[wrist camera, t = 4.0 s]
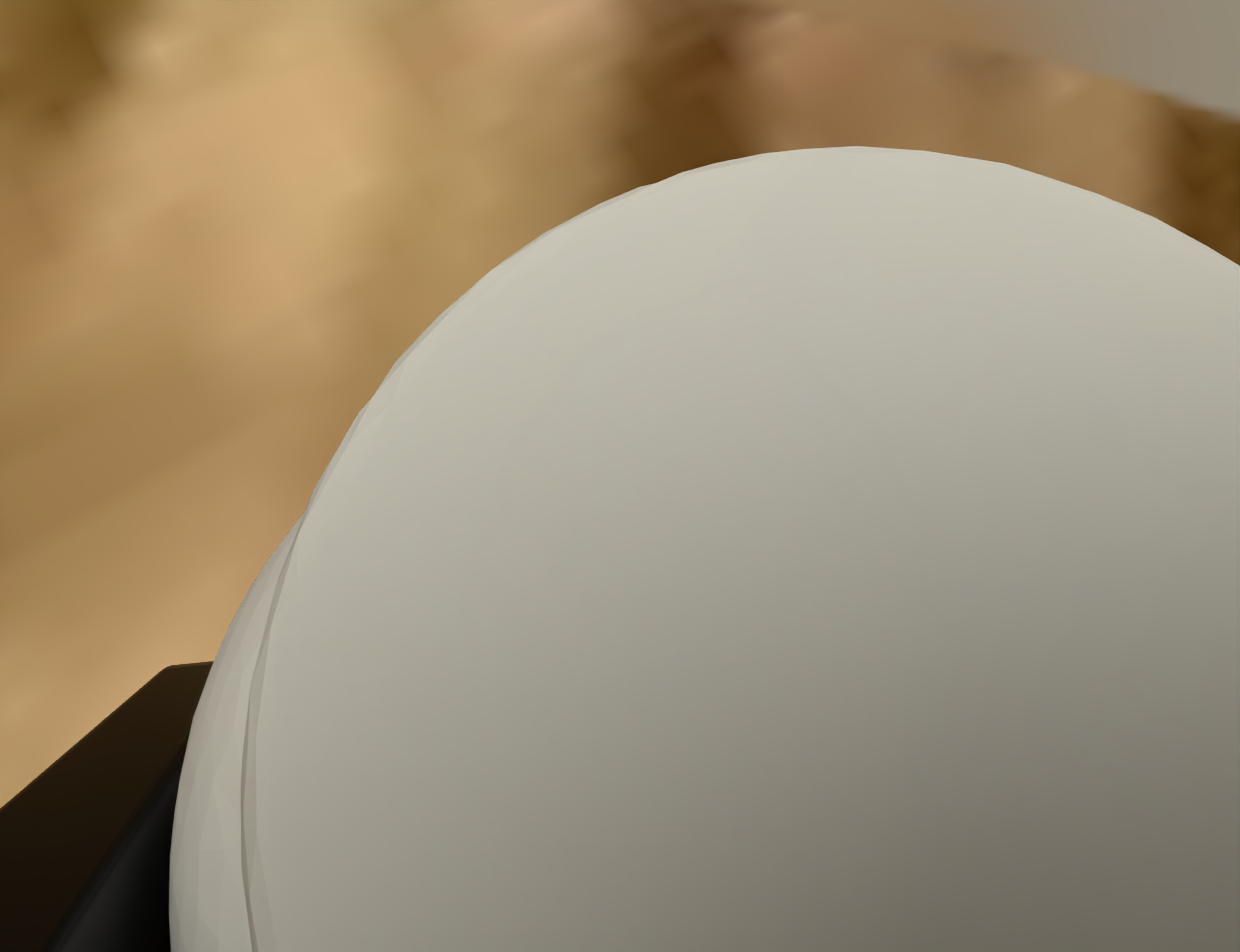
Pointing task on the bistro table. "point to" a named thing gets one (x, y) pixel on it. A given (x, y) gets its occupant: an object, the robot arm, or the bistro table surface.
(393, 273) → the bistro table surface
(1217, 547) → the supplement bottle
